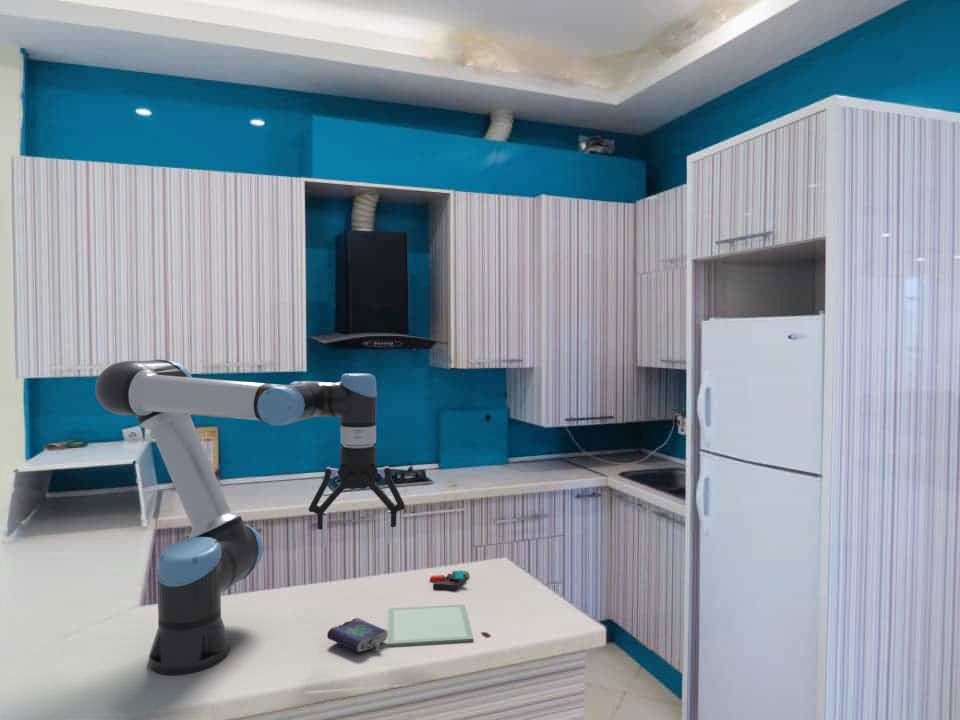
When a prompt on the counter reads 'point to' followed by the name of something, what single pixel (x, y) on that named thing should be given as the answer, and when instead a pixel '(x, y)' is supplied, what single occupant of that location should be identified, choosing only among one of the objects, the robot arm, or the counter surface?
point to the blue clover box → (358, 635)
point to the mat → (428, 625)
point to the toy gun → (449, 580)
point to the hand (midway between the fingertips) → (357, 543)
